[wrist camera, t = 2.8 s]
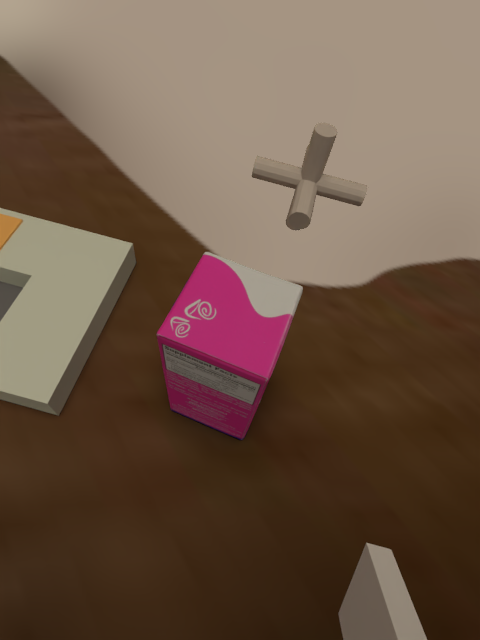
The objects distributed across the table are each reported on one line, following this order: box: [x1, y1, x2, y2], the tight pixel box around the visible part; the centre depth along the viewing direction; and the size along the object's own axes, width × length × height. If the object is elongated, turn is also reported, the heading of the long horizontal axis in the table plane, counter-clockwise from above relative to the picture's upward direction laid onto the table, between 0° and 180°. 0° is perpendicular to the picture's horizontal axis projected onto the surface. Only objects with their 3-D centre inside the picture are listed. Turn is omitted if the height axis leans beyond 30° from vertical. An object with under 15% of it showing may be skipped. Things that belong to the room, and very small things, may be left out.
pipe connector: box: [252, 123, 367, 230], centre depth 34 cm, size 10×10×10 cm
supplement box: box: [157, 252, 303, 440], centre depth 23 cm, size 6×6×12 cm
